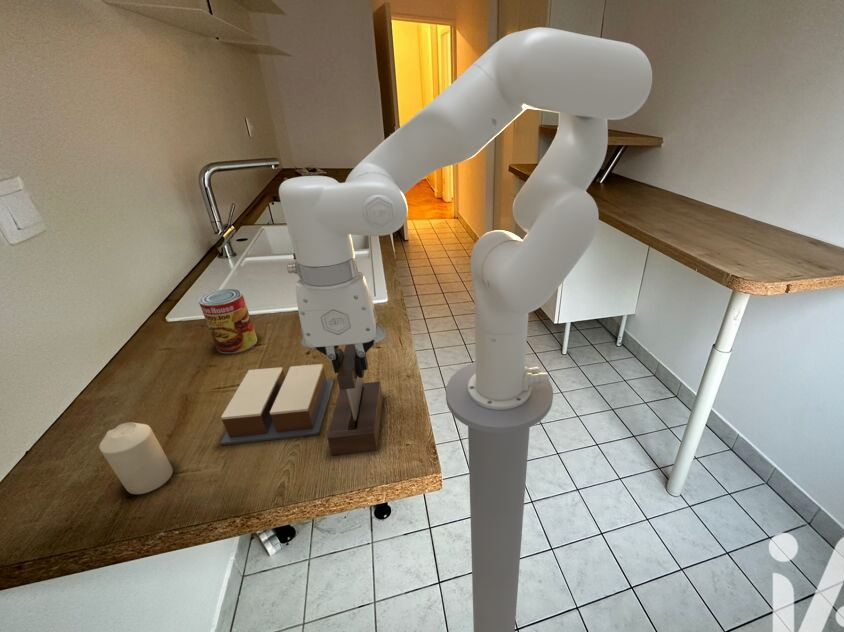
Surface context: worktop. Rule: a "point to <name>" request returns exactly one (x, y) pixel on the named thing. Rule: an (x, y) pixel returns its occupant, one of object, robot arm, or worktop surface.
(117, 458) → the candle
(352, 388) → the cake cutter
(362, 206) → the robot arm
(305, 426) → the cake
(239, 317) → the canned food
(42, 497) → the worktop surface
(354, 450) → the knife block
